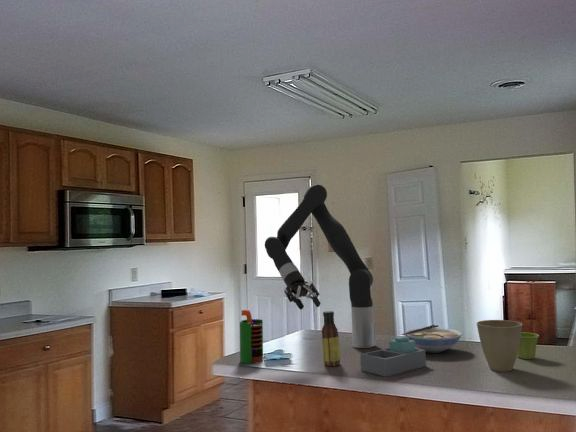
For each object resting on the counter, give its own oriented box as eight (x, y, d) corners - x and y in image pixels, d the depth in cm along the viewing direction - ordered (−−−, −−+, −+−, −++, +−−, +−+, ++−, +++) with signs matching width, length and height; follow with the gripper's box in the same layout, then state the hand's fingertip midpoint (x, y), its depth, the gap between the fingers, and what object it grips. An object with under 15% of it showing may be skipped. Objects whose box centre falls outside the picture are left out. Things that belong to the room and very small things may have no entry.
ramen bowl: (440, 360, 207) (439, 338, 207) (391, 352, 224) (391, 332, 225) (475, 349, 224) (474, 329, 224) (427, 342, 241) (426, 324, 241)
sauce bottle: (342, 363, 208) (340, 310, 209) (338, 367, 202) (336, 312, 203) (325, 362, 210) (323, 310, 211) (320, 366, 204) (319, 312, 205)
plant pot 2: (540, 355, 209) (539, 332, 210) (540, 361, 201) (538, 337, 201) (513, 354, 213) (512, 331, 214) (512, 359, 205) (511, 336, 205)
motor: (259, 364, 211) (257, 311, 211) (237, 363, 213) (235, 311, 213) (265, 358, 221) (264, 308, 221) (244, 357, 222) (242, 308, 223)
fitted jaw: (400, 359, 205) (400, 335, 206) (415, 363, 200) (414, 337, 200) (390, 362, 202) (389, 337, 202) (404, 365, 196) (403, 339, 196)
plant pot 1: (469, 368, 194) (467, 322, 195) (498, 362, 202) (496, 318, 202) (504, 376, 181) (502, 328, 182) (533, 370, 189) (531, 323, 189)
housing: (400, 360, 209) (399, 345, 209) (425, 366, 199) (425, 349, 199) (361, 370, 196) (360, 354, 196) (386, 376, 186) (385, 359, 187)
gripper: (301, 281, 232) (319, 311, 222) (274, 283, 223) (292, 315, 214) (308, 269, 228) (328, 299, 218) (281, 271, 219) (300, 302, 209)
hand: (310, 307), depth 216 cm, fingers open, 8 cm apart
